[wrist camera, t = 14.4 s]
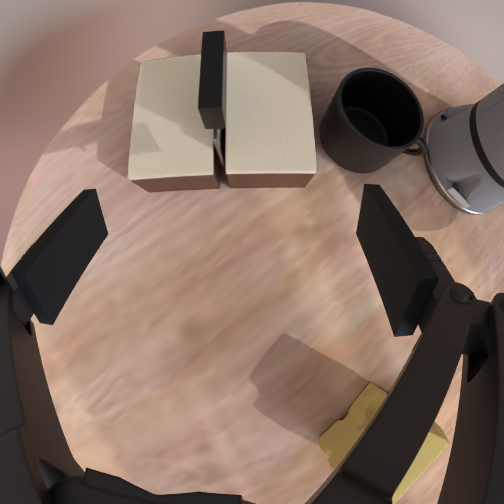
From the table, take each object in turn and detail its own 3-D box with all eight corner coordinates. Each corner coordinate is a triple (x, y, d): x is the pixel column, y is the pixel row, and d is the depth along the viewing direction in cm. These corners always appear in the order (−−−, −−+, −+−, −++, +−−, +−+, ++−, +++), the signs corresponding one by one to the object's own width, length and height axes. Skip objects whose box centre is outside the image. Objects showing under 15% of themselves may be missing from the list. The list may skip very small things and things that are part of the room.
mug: (396, 196, 35) (435, 179, 26) (308, 153, 35) (324, 121, 26) (413, 134, 35) (449, 107, 26) (332, 92, 35) (351, 53, 26)
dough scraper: (231, 88, 33) (224, 22, 21) (231, 166, 33) (221, 119, 21) (216, 88, 33) (203, 24, 21) (215, 167, 33) (197, 120, 21)
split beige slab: (297, 83, 35) (305, 52, 28) (305, 187, 35) (317, 171, 28) (156, 89, 35) (141, 61, 28) (148, 192, 35) (127, 178, 28)
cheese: (316, 438, 34) (333, 485, 24) (371, 375, 34) (406, 408, 24) (369, 464, 34) (393, 506, 24) (419, 408, 34) (456, 440, 24)
